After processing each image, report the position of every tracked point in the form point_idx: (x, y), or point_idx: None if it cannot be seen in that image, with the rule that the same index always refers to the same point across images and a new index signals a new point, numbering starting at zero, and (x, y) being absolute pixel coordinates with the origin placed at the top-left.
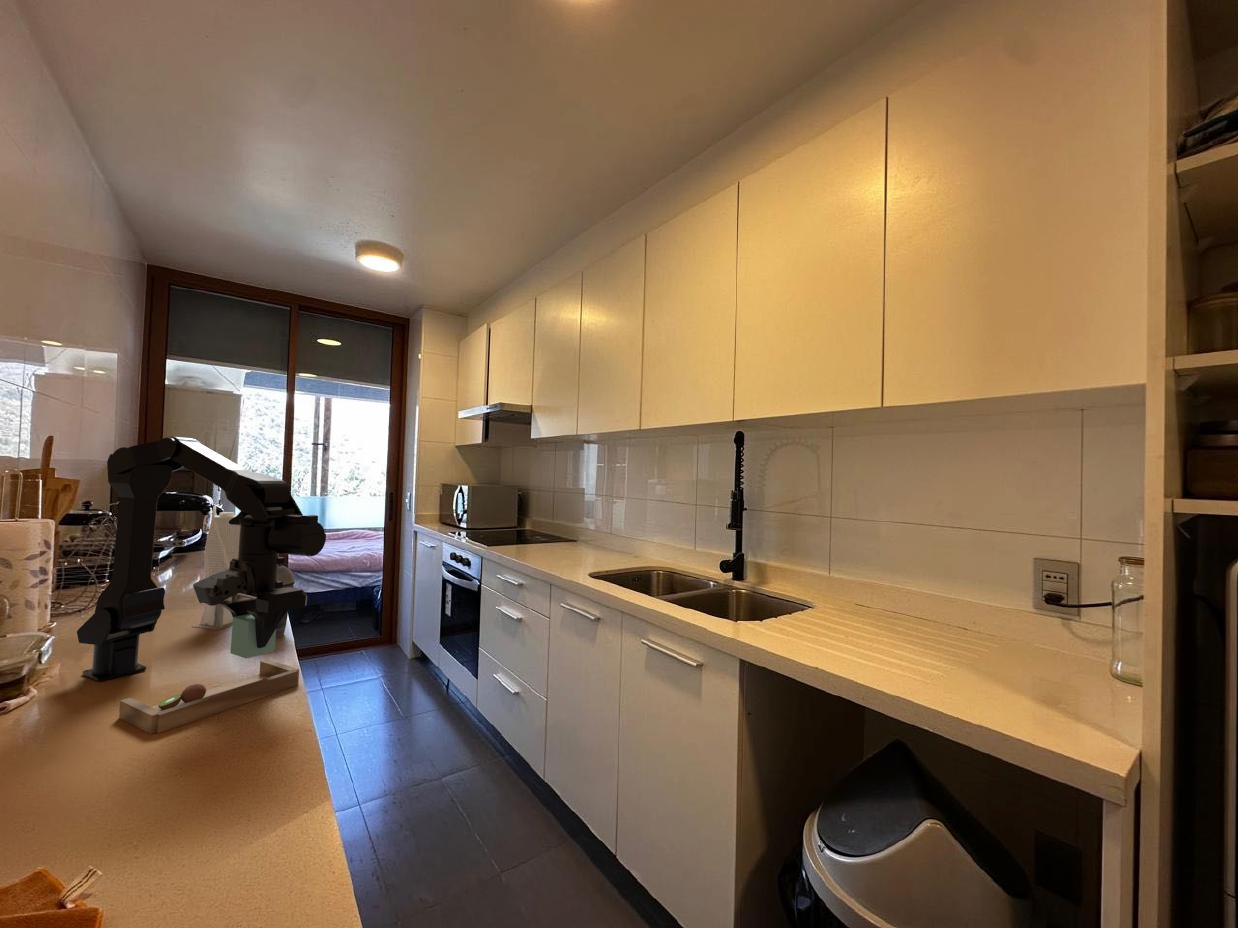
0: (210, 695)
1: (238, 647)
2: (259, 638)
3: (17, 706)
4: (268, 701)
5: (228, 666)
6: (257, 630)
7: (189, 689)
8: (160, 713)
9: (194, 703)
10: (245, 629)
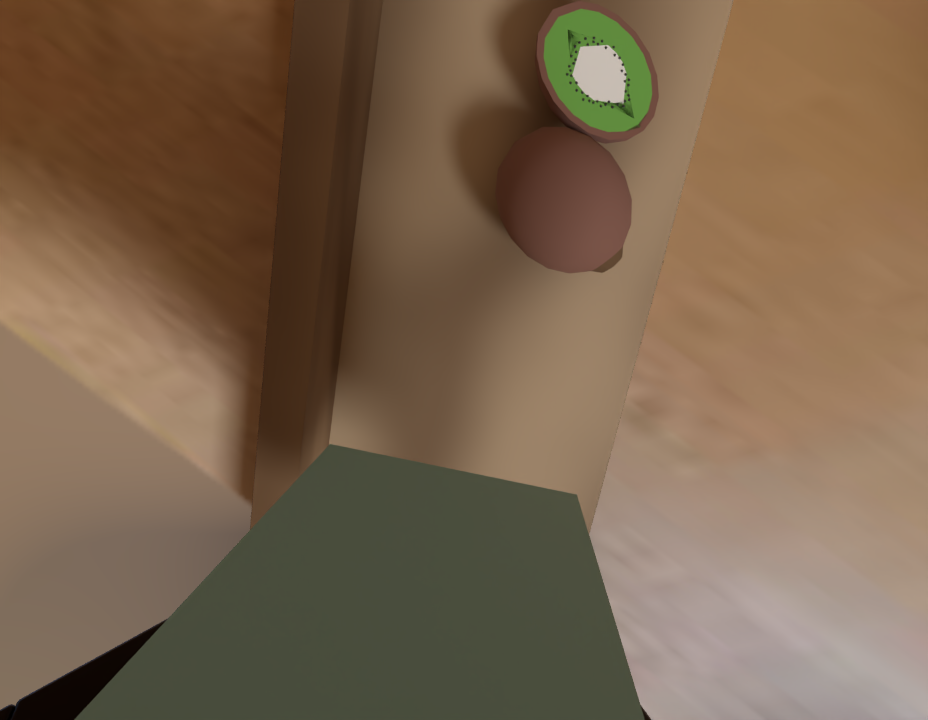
0: (549, 302)
1: (445, 508)
2: (161, 622)
3: None
4: (234, 361)
5: (849, 630)
6: (73, 705)
7: (551, 152)
8: None
9: (298, 2)
10: (215, 665)
